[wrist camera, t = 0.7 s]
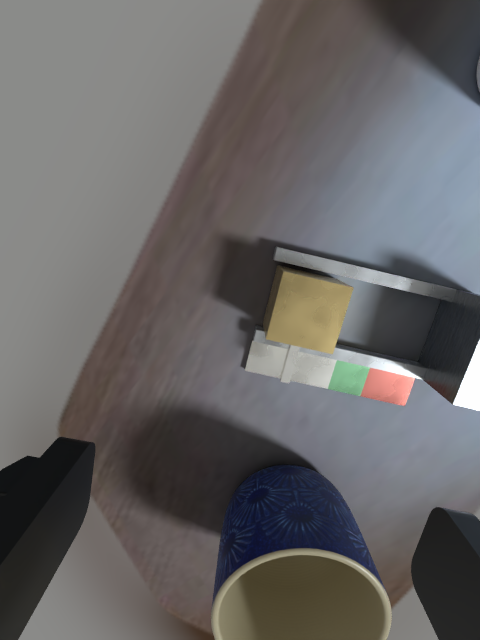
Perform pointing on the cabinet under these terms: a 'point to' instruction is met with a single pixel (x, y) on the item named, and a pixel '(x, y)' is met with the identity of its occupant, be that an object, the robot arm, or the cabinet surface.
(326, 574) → the planter
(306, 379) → the grey open frame tray
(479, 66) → the supplement bottle
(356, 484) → the cabinet surface
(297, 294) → the tan gold cube
